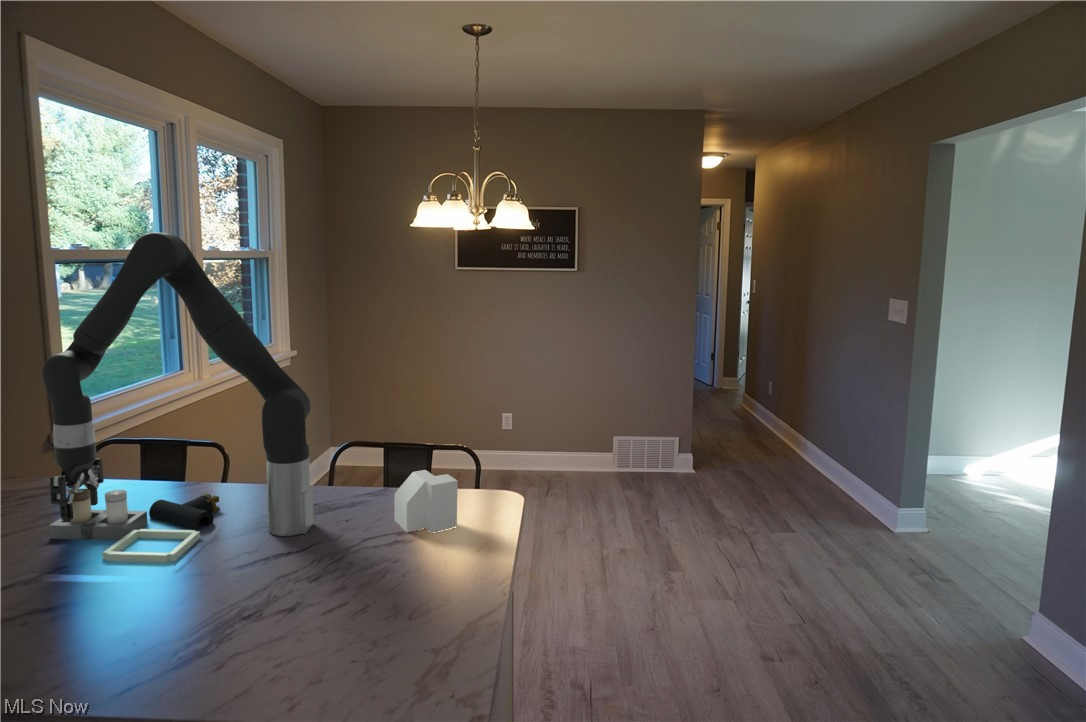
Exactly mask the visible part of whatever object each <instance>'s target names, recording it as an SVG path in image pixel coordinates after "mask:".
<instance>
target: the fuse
mask: <svg viewBox="0 0 1086 722" xmlns="http://www.w3.org/2000/svg"><path fill="white" fill-rule="evenodd" d="M127 494H128V493H127V490H126V489H113V490H109V491H107V492H105V493H104V501H105V510H106V515H107V523H111V524H123V523H125V522H126V521H128V511H129V510H128V497H127Z"/></svg>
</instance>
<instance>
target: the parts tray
mask: <svg viewBox="0 0 1086 722" xmlns="http://www.w3.org/2000/svg"><path fill="white" fill-rule="evenodd" d="M138 538H140V539H166V540H167V539H172V540H173V539H177V540H183V541H181V542H180V543H179V544H178V545H177V546H176V547H175V548H173V549H172V550H171V551H170V552H157V551H156V552H149V551H145V552H143V551H122V550H124V549H125V548H127V547H128V546H129V545H130V544H133V542H135V541H136V540H137V539H138ZM200 539H201V531H199V530H197V531H196V530H192V529H165V528H164V529H161V528H160V529H159V528H141V529H140V530H133V531H131V532H130V533H129V534H127V535H126V536H125V537H123V538H122V539H120V540H117V541H116V542H115V543H113V544H112V545H110V547H108V548H106V549H105V550H104V551H102V560H106V561H107V562H124V563H126V562H129V563H130V562H131V563H132V562H133V563H134V562H135V563H163V564H164V563H166V564H167V563H168V562H175V561H177V560H178V559H179V558H180V557H181V556H182V555H183V556H182V557H181V559H179V560H178V561H177V562H176V563H175V564H174V566H176V565H177V564H178V563H180V561H181V560H182V559H184V558H185V557H186V556H187V555H189V553H191V552H192V549H190V548H191V547H192V546H194V545H195V543H196V545H195V546H194V547H193V549H195V548H196V547H197V546H198V545H199V544H200V543H201V541H199V540H200ZM198 541H199V542H198ZM197 542H198V543H197ZM189 549H190V551H188V550H189ZM187 551H188V552H187ZM185 552H187V553H186V554H185ZM184 554H185V555H184Z"/></svg>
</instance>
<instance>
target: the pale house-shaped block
mask: <svg viewBox="0 0 1086 722" xmlns="http://www.w3.org/2000/svg"><path fill="white" fill-rule="evenodd" d="M458 483H459V482H458V480H457V479H456V478H454V477H453V476H452V475H449V474H448V473H447V474H439V475H434V474H432V473H430V471H428V470H426V469H423V470H417V471H412V472H411V474H410V475H409V476H407V478H406V479H405V480H404V482H403V483H402V484H401V485H400V486H399V488H398V489H396V491H395V492H394V522H395V521H396V522H397V523H398V524H399V525H400V526H401V527H402V528H403V529H404V530H405V531H406V532H409V531H413V530H418V529H422V528H426V529H427V530H428V531H430V533H433V532H438V531H441V530H445V529H449V528H452V527H455V526H458ZM401 527H400V528H401ZM402 528H401V529H402ZM403 529H402V530H403ZM426 529H425V530H426ZM404 530H403V531H404ZM427 530H426V531H427ZM405 531H404V532H405ZM428 531H427V532H428ZM406 532H405V533H406ZM430 533H429V534H430Z"/></svg>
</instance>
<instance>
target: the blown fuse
mask: <svg viewBox="0 0 1086 722" xmlns="http://www.w3.org/2000/svg"><path fill="white" fill-rule="evenodd" d="M72 505H73V519H71V520H70V522H72V523H86V522H88V521H89V520H91V519H92V513H91V510H92V505H91V500H90V490H89V489H87V488H79V489H78V492H77V493H76V494H75V495H74V497H73V500H72Z"/></svg>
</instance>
